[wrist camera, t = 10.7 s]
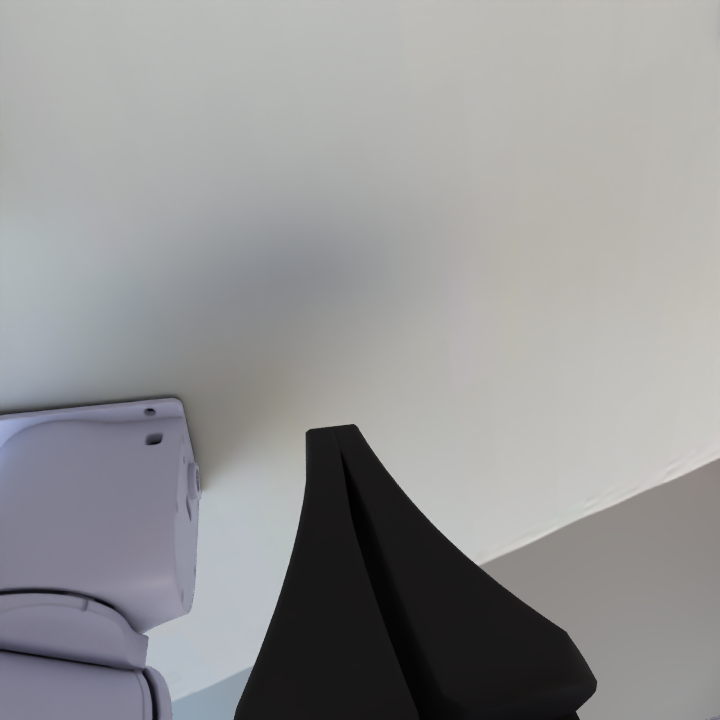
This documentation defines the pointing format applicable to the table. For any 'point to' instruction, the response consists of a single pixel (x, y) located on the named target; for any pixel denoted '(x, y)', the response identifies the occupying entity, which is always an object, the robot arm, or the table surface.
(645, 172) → the table surface
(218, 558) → the table surface
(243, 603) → the table surface
